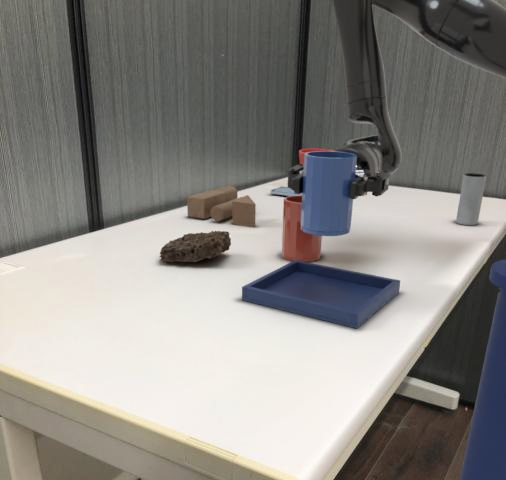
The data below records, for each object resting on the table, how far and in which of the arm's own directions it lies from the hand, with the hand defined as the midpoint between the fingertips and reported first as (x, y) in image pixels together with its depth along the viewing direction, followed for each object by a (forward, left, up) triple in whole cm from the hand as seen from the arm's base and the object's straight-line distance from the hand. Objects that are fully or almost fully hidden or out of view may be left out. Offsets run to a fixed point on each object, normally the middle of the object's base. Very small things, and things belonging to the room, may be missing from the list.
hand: (324, 188), depth 74 cm
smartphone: (+38, -66, -16) cm, 78 cm away
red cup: (+12, -18, -16) cm, 27 cm away
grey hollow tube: (-6, -61, -16) cm, 63 cm away
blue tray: (0, -2, -16) cm, 16 cm away
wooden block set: (+39, -38, -16) cm, 57 cm away
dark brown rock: (+26, -6, -16) cm, 31 cm away
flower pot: (+41, -81, -16) cm, 92 cm away
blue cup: (+1, -2, -6) cm, 6 cm away
